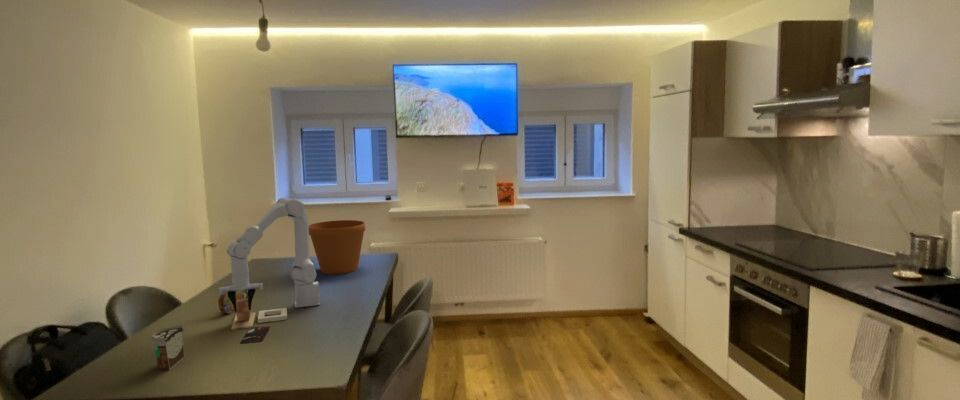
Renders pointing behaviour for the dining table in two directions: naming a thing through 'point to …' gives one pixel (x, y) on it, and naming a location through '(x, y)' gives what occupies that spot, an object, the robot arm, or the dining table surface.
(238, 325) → the oak board
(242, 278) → the robot arm
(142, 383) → the dining table surface
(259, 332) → the smartphone
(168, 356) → the food container
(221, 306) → the tin
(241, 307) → the block
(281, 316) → the pocket plate
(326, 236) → the flowerpot
